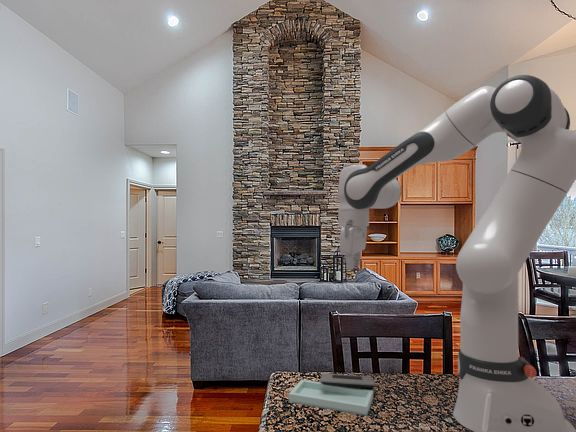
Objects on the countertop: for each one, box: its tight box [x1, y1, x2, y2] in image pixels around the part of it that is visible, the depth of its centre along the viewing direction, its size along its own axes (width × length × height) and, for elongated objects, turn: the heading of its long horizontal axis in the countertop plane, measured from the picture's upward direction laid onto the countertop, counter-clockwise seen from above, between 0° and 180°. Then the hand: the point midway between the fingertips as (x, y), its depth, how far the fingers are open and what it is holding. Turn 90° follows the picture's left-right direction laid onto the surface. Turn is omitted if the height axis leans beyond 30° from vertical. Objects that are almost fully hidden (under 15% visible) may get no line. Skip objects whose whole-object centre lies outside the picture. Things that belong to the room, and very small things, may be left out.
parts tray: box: [288, 379, 374, 417], centre depth 93 cm, size 18×9×2 cm, turn 69°
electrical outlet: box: [320, 372, 376, 389], centre depth 100 cm, size 13×10×2 cm
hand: (353, 267), depth 114 cm, fingers open, 8 cm apart
